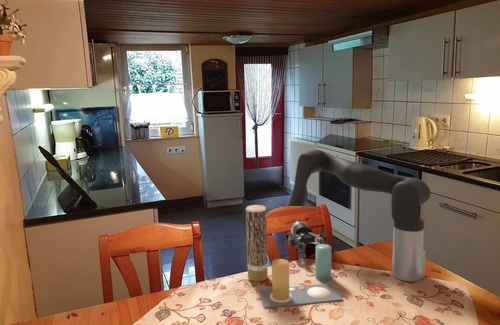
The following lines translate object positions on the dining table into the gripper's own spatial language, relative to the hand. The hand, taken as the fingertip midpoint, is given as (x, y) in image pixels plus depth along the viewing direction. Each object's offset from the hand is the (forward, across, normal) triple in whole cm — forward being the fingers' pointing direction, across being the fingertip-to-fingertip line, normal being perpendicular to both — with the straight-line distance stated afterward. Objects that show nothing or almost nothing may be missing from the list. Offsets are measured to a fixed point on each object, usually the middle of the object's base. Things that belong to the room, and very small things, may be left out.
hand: (313, 246), depth 133 cm
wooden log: (+7, -22, +7) cm, 24 cm away
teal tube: (+11, 0, +7) cm, 13 cm away
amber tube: (+21, -17, +7) cm, 28 cm away
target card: (+21, -11, +7) cm, 25 cm away
